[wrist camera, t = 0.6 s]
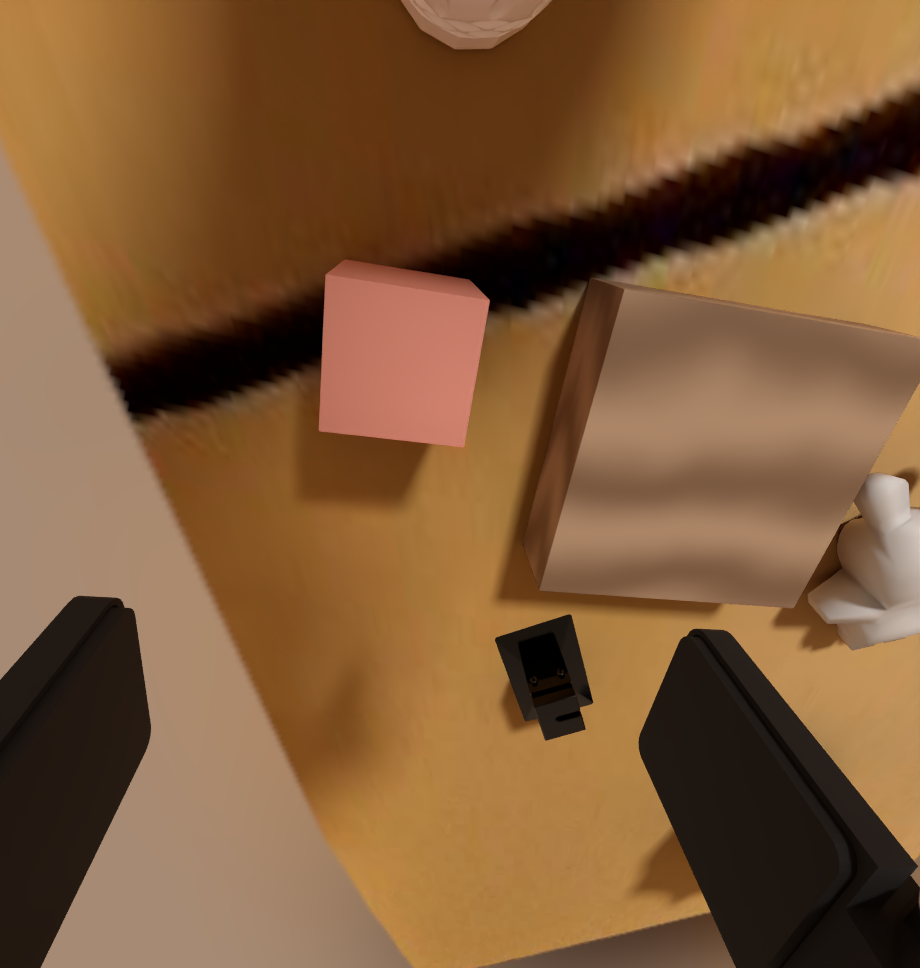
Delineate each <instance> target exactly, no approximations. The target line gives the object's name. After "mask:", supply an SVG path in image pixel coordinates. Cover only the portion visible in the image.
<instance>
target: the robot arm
mask: <svg viewBox="0 0 920 968" xmlns="http://www.w3.org/2000/svg"><path fill="white" fill-rule="evenodd" d="M150 733H151V723H150V716H149V709H148V702H147V695H146V688H145V681H144V675H143V667H142V660H141V654H140V646H139V640H138V632H137V626H136V618H135V613H134V611H133V609H131V608H124V605H123V602H122V601H121V599H119V598H109V597H90V596H77V597H74V598H73V599H72V600H71V601H70V602H69V603H68V604H67V605H66V606H65V607H64V608H63V609H62V611H61V612H60V613H59V614H58V615H57V616H56V617H55V618H54V620H53V621H52V622H51V623H50V624H49V625H48V627H47V628H46V629H45V630H44V631H43V632H42V633H41V634H40V636H39V637H38V638H37V639H36V640H35V641H34V642H33V644H32V645H31V646H30V647H29V648H28V649H27V650H26V651H25V652H24V654H23V655H22V656H21V657H20V658H19V659H18V661H17V662H16V663H15V664H14V665H13V666H12V667H11V668H10V670H9V671H8V672H7V673H6V674H5V675H4V676H3V677H2V679H1V680H0V968H41V966H42V963H43V961H44V959H45V957H46V955H47V953H48V951H49V949H50V947H51V945H52V943H53V941H54V939H55V937H56V935H57V933H58V931H59V929H60V926H61V924H62V922H63V920H64V918H65V916H66V914H67V912H68V910H69V908H70V906H71V903H72V902H73V899H74V898H75V896H76V894H77V891H78V889H79V887H80V885H81V883H82V881H83V879H84V877H85V875H86V873H87V871H88V868H89V867H90V865H91V863H92V861H93V859H94V857H95V854H96V852H97V850H98V848H99V846H100V844H101V842H102V840H103V838H104V835H105V834H106V832H107V830H108V828H109V826H110V824H111V822H112V819H113V817H114V815H115V813H116V811H117V809H118V807H119V805H120V803H121V801H122V799H123V797H124V795H125V793H126V791H127V788H128V787H129V785H130V782H131V780H132V778H133V776H134V774H135V772H136V770H137V768H138V766H139V764H140V762H141V760H142V758H143V756H144V753H145V751H146V749H147V746H148V743H149V739H150ZM639 751H640V755H641V758H642V760H643V762H644V764H645V767H646V769H647V771H648V773H649V776H650V778H651V780H652V782H653V784H654V787H655V789H656V791H657V793H658V796H659V798H660V800H661V802H662V804H663V807H664V809H665V811H666V813H667V816H668V818H669V820H670V822H671V824H672V827H673V829H674V831H675V833H676V836H677V838H678V840H679V842H680V844H681V847H682V849H683V851H684V853H685V856H686V858H687V860H688V862H689V865H690V867H691V869H692V871H693V873H694V876H695V878H696V880H697V882H698V885H699V887H700V889H701V891H702V893H703V896H704V898H705V900H706V902H707V905H708V907H709V909H710V911H711V913H712V916H713V918H714V920H715V922H716V925H717V926H718V929H719V931H720V933H721V935H722V938H723V940H724V942H725V945H726V947H727V949H728V951H729V953H730V956H731V958H732V960H733V962H734V964H735V966H736V968H920V887H919V886H918V885H917V883H916V882H915V881H914V879H913V878H912V877H911V876H910V875H911V874H912V873H913V872H914V870H915V869H916V868H917V867H918V866H917V864H916V863H915V862H914V861H913V859H912V858H911V857H910V856H909V854H908V853H907V852H906V851H905V850H904V848H903V847H902V846H901V845H900V843H899V842H898V841H897V840H896V838H895V837H894V836H893V835H892V833H891V832H890V831H889V830H888V828H887V827H886V826H885V825H884V823H883V822H882V821H881V820H880V818H879V817H878V816H877V815H876V813H875V812H874V811H873V810H872V809H871V807H870V806H869V805H868V804H867V802H866V801H865V800H864V799H863V797H862V796H861V795H860V794H859V792H858V791H857V790H856V789H855V787H854V786H853V785H852V784H851V782H850V781H849V780H848V779H847V777H846V776H845V775H844V774H843V772H842V771H841V770H840V769H839V768H838V766H837V765H836V764H835V763H834V761H833V760H832V759H831V758H830V756H829V755H828V754H827V753H826V751H825V750H824V749H823V748H822V746H821V745H820V744H819V743H818V741H817V740H816V739H815V738H814V736H813V735H812V734H811V733H810V731H809V730H808V729H807V728H806V726H805V725H804V724H803V723H802V722H801V720H800V719H799V718H798V717H797V715H796V714H795V713H794V712H793V710H792V709H791V708H790V707H789V705H788V704H787V703H786V702H785V700H784V699H783V698H782V697H781V695H780V694H779V693H778V692H777V690H776V689H775V688H774V687H773V685H772V684H771V683H770V682H769V681H768V679H767V678H766V677H765V676H764V674H763V673H762V672H761V671H760V669H759V668H758V667H757V666H756V664H755V663H754V662H753V661H752V659H751V658H750V657H749V656H748V654H747V653H746V652H745V651H744V649H743V648H742V647H741V646H740V644H739V643H738V642H737V641H736V639H735V638H734V637H733V636H732V635H731V634H730V633H729V632H727V631H724V630H711V629H693V630H692V631H690V632H689V634H688V635H687V636H686V637H683V638H682V639H681V640H680V642H679V644H678V646H677V649H676V651H675V653H674V656H673V658H672V660H671V663H670V665H669V667H668V670H667V672H666V675H665V677H664V679H663V682H662V684H661V686H660V689H659V691H658V693H657V696H656V698H655V700H654V703H653V705H652V707H651V710H650V712H649V715H648V717H647V719H646V722H645V724H644V726H643V729H642V731H641V733H640V736H639Z"/></svg>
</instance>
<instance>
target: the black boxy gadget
mask: <svg viewBox="0 0 920 968" xmlns="http://www.w3.org/2000/svg"><path fill="white" fill-rule="evenodd" d="M495 642H496V644H497V647H498V650H499V652H500V655H501V658H502V660H503V663H504V666H505V668H506V671H507V674H508V676H509V679H510V682H511V685H512V687H513V690H514V693H515V695H516V698H517V701H518V703H519V706H520V709H521V711H522V714H523V717H524V719H525V721H530V720H534V719H537V718H538V721H539V724H540V727H541V730H542V733H543V736H544V738H545V740H550V739H553V738H557V737H561V736H564V735H568V734H571V733H575V732H579V731H582V730H585V725H584V722H583V718H582V715H581V712H580V711H579V710H580V707H583V706H587V705H590V704H592V703H593V700H592V696H591V692H590V688H589V684H588V680H587V676H586V672H585V668H584V664H583V660H582V656H581V652H580V648H579V644H578V640H577V636H576V632H575V628H574V624H573V620H572V616H571V615H570V614H569V615H565V616H562V617H559V618H556V619H553V620H550V621H547V622H543V623H540V624H537V625H534V626H531V627H528V628H525V629H521V630H518V631H515V632H512V633H509V634H506V635H503V636H500V637H497V638H495Z"/></svg>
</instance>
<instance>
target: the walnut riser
mask: <svg viewBox="0 0 920 968" xmlns="http://www.w3.org/2000/svg"><path fill="white" fill-rule="evenodd" d="M919 383H920V337H917V336H913V335H908V334H904V333H900V332H896V331H892V330H887V329H883V328H879V327H875V326H871V325H866V324H861V323H855V322H849V321H843V320H837V319H831V318H825V317H820V316H814V315H808V314H802V313H796V312H790V311H784V310H778V309H773V308H767V307H761V306H755V305H749V304H743V303H737V302H731V301H725V300H720V299H714V298H708V297H702V296H696V295H690V294H684V293H678V292H673V291H667V290H661V289H655V288H649V287H643V286H637V285H631V284H625V283H620V282H614V281H608V280H602V279H596V278H590V281H589V285H588V289H587V293H586V296H585V300H584V304H583V308H582V312H581V316H580V320H579V324H578V328H577V332H576V336H575V340H574V344H573V348H572V352H571V356H570V360H569V364H568V368H567V371H566V375H565V379H564V383H563V387H562V391H561V395H560V399H559V403H558V407H557V411H556V415H555V419H554V423H553V427H552V431H551V435H550V439H549V443H548V447H547V450H546V454H545V458H544V462H543V466H542V470H541V474H540V478H539V482H538V486H537V490H536V494H535V498H534V502H533V506H532V510H531V514H530V518H529V522H528V525H527V529H526V533H525V537H524V541H523V547H524V549H525V552H526V555H527V558H528V561H529V563H530V566H531V569H532V572H533V574H534V577H535V580H536V583H537V585H538V588H539V591H553V592H567V593H581V594H596V595H610V596H624V597H639V598H653V599H667V600H682V601H696V602H711V603H725V604H739V605H754V606H768V607H782V608H794V607H795V605H796V603H797V601H798V599H799V598H800V596H801V594H802V592H803V590H804V589H805V587H806V585H807V583H808V581H809V580H810V578H811V576H812V574H813V573H814V571H815V569H816V567H817V565H818V564H819V562H820V560H821V558H822V556H823V555H824V553H825V551H826V549H827V547H828V546H829V544H830V542H831V540H832V538H833V537H834V535H835V533H836V531H837V529H838V528H839V526H840V524H841V522H842V521H843V519H844V517H845V515H846V513H847V512H848V510H849V508H850V506H851V504H852V503H853V501H854V499H855V497H856V495H857V494H858V492H859V490H860V488H861V486H862V485H863V483H864V481H865V479H866V478H867V476H868V474H869V472H870V470H871V469H872V467H873V465H874V463H875V461H876V460H877V458H878V456H879V454H880V452H881V451H882V449H883V447H884V445H885V443H886V442H887V440H888V438H889V436H890V434H891V433H892V431H893V429H894V427H895V426H896V424H897V422H898V420H899V418H900V417H901V415H902V413H903V411H904V409H905V408H906V406H907V404H908V402H909V400H910V399H911V397H912V395H913V393H914V391H915V390H916V388H917V386H918V384H919Z"/></svg>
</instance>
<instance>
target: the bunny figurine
mask: <svg viewBox="0 0 920 968" xmlns="http://www.w3.org/2000/svg"><path fill="white" fill-rule="evenodd" d="M854 503H855V504H856V506H857V508H858V510H859V511H860V513H861V515H862V517H863V518H860V519H853V520H851V521H849V522H848V523H847V524H845V525H844V527H843V529H842V531H841V533H840V535H839V539H838V543H837V555H838V558H839V561H840V563H841V566H842V568H841V569H840V570H839V571H838V572H837V573H835V574H834V575H833V576H832V577H830V578H829V579H828V580H826V581H825V582H823V583H822V584H821V585H819V586H818V587H816V588H815V589H814V590H812V591H811V592H810V593H808V603H809V604H810V605H811V607H812V608H813V609H814V610H815V611H816V612H817V613H818V614H819V615H820V617H821V618H822V619H823V620H824V621H825V622H826V623H827V624H836V625H837V627H838V631H837V634H838V635H839V637H840V638H841V639H842V640H843V641H844V642H845V643H846V644H847V645H848V647H849V648H850V649H851V650H856V649H861V648H865V647H869V646H873V645H875V644H878V643H882V642H883V643H886V642H890V641H895V640H899V639H903V638H906V637H907V636H911V635H916V634H920V507H910V502H909V484H908V482H907V481H906V480H905V479H902V478H898V477H895V476H892V475H888V474H884V473H871V474H869V475H868V476H867V478H866V479H865V481H864V483H863V485H862V486H861V488H860V490H859V492H858V494H857V495H856V497H855V499H854Z"/></svg>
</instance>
